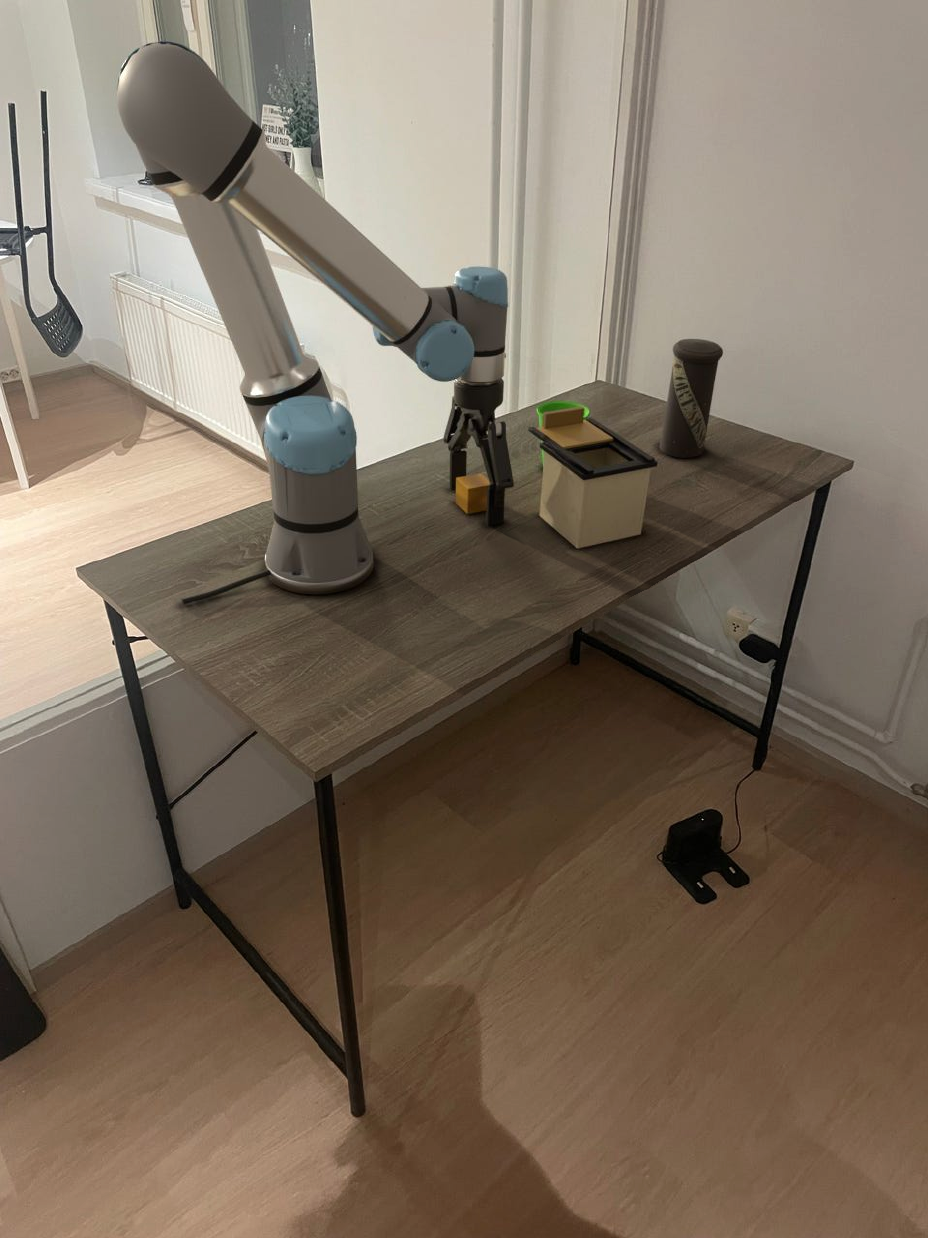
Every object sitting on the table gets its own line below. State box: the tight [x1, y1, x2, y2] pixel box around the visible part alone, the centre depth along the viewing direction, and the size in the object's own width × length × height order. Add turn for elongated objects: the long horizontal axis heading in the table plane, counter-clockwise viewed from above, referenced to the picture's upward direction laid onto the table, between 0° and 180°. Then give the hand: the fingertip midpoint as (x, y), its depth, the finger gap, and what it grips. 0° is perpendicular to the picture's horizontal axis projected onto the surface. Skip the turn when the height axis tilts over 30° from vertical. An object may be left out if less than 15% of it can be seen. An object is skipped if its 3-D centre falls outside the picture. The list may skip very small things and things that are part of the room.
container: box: [659, 338, 724, 459], centre depth 164 cm, size 9×9×20 cm
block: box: [455, 473, 490, 515], centre depth 147 cm, size 4×4×4 cm
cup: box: [536, 400, 591, 467], centre depth 158 cm, size 9×9×11 cm
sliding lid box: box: [527, 416, 658, 549], centre depth 142 cm, size 13×18×13 cm
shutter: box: [536, 406, 613, 449], centre depth 141 cm, size 9×8×3 cm
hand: (475, 505), depth 148 cm, fingers open, 13 cm apart
